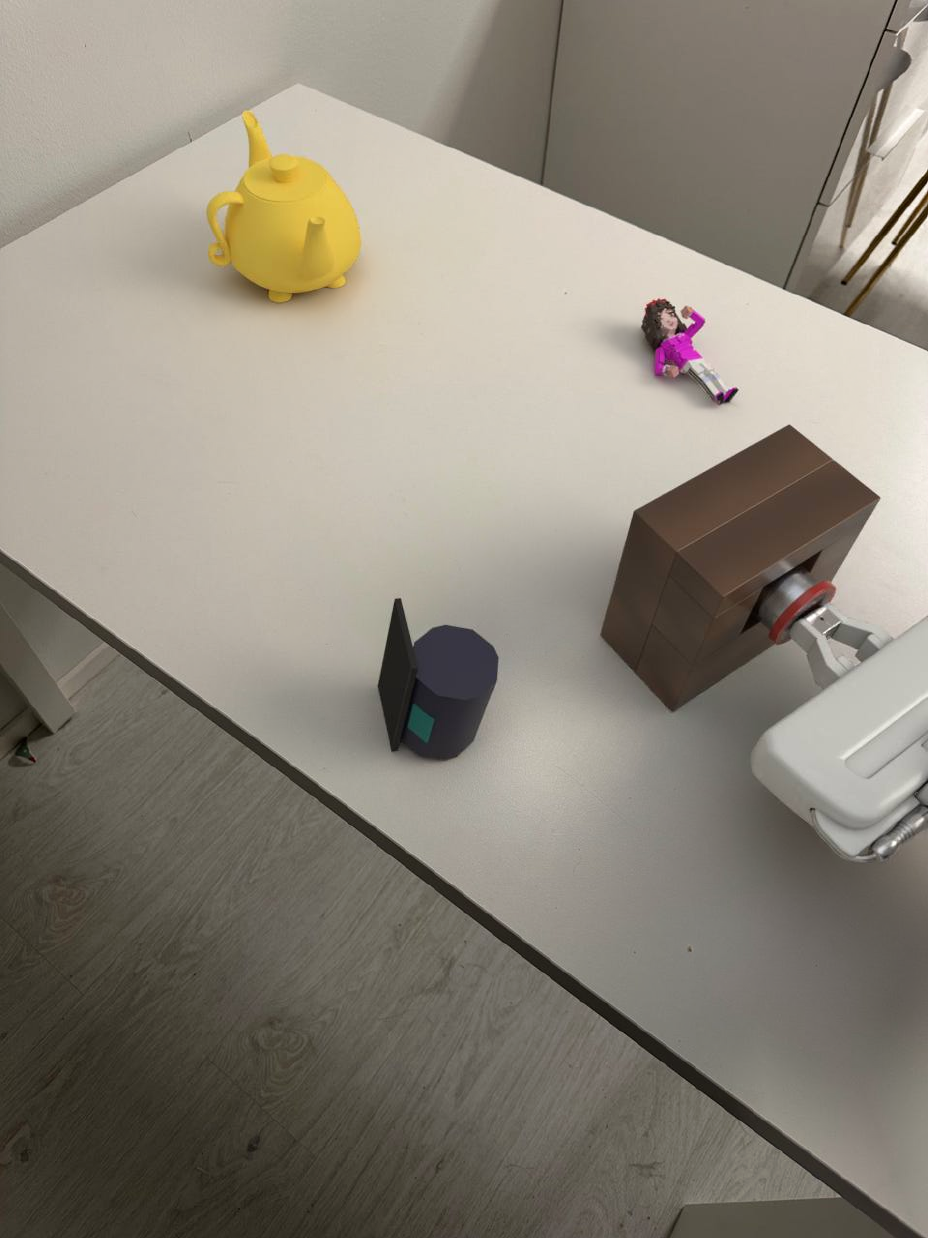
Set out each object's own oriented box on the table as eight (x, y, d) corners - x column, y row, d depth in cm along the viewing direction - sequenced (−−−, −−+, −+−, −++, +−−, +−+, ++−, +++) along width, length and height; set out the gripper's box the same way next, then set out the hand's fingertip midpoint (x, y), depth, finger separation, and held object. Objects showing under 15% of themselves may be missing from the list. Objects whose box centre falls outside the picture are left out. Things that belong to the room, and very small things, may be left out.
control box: (808, 621, 72) (881, 497, 60) (672, 713, 67) (723, 596, 55) (734, 553, 75) (789, 423, 64) (599, 634, 70) (633, 510, 59)
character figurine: (741, 401, 87) (663, 316, 91) (761, 362, 82) (677, 274, 86) (693, 425, 85) (615, 337, 89) (710, 386, 80) (628, 295, 85)
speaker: (362, 755, 64) (372, 670, 55) (377, 684, 67) (388, 595, 59) (473, 774, 64) (498, 693, 56) (482, 703, 68) (507, 617, 59)
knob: (819, 620, 64) (847, 574, 59) (765, 657, 62) (790, 611, 58) (776, 581, 66) (800, 533, 61) (722, 615, 64) (743, 568, 59)
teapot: (186, 236, 97) (160, 124, 87) (322, 203, 101) (311, 93, 91) (249, 355, 87) (227, 243, 77) (397, 313, 91) (394, 202, 81)
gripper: (842, 899, 53) (677, 720, 60) (1057, 719, 61) (889, 576, 67) (887, 859, 48) (700, 668, 54) (1116, 667, 55) (928, 518, 62)
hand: (806, 616), depth 61 cm, fingers closed, pressing on knob
